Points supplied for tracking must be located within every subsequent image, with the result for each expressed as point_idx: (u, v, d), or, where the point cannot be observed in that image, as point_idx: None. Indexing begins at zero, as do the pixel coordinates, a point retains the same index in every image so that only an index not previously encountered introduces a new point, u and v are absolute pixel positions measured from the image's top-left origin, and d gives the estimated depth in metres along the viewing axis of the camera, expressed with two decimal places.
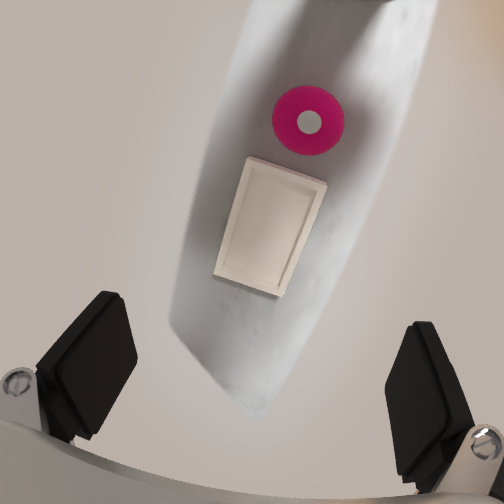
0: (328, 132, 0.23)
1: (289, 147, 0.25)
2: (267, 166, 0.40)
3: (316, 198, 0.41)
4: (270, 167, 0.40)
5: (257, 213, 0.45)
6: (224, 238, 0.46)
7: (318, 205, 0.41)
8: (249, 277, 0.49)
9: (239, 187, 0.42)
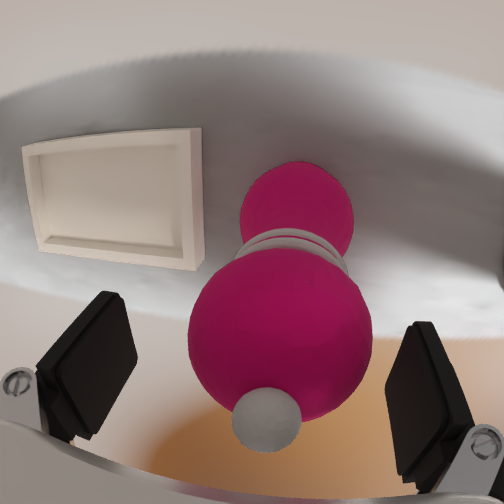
0: None
1: (190, 334, 0.09)
2: (189, 169, 0.22)
3: (172, 259, 0.26)
4: (189, 175, 0.22)
5: (117, 173, 0.25)
6: (64, 142, 0.23)
7: (163, 265, 0.26)
8: (40, 197, 0.26)
9: (140, 135, 0.22)
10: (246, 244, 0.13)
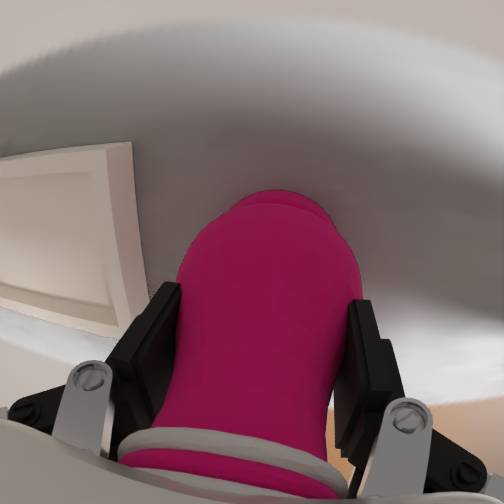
0: None
1: None
2: (109, 209, 0.14)
3: (105, 326, 0.17)
4: (110, 217, 0.14)
5: (34, 209, 0.17)
6: None
7: (97, 331, 0.18)
8: None
9: (46, 159, 0.13)
10: (129, 441, 0.05)
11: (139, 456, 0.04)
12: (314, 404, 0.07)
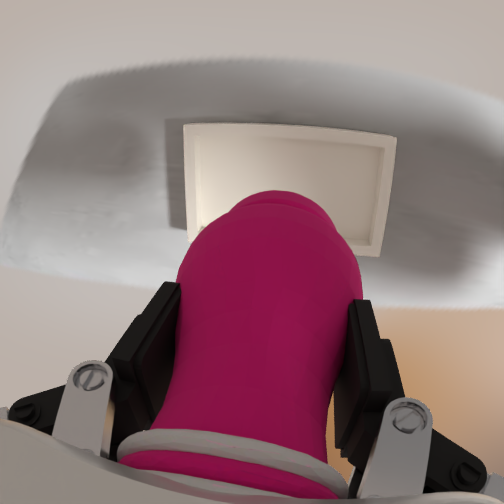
0: None
1: None
2: (392, 170, 0.25)
3: (360, 247, 0.28)
4: (391, 175, 0.25)
5: (309, 165, 0.27)
6: (255, 127, 0.25)
7: None
8: (198, 182, 0.29)
9: (350, 134, 0.24)
10: (129, 442, 0.05)
11: (138, 458, 0.04)
12: (314, 405, 0.06)
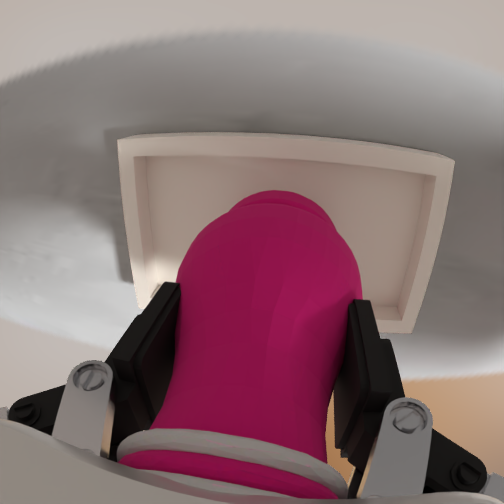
0: None
1: None
2: (444, 212, 0.15)
3: (386, 322, 0.18)
4: (442, 219, 0.15)
5: (314, 201, 0.17)
6: (226, 140, 0.15)
7: None
8: (146, 225, 0.19)
9: (385, 152, 0.14)
10: (128, 442, 0.05)
11: (138, 457, 0.04)
12: (314, 405, 0.06)
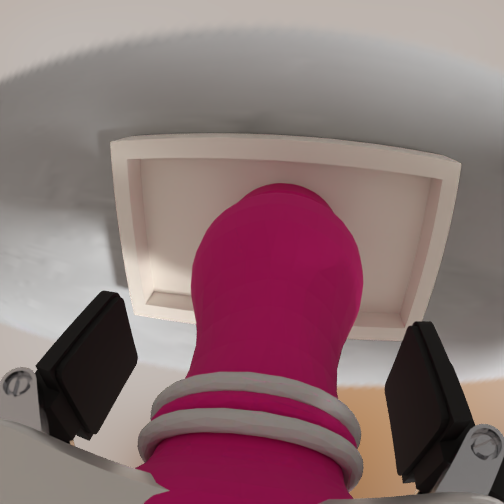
0: None
1: None
2: (449, 217, 0.14)
3: (389, 330, 0.18)
4: (448, 224, 0.14)
5: None
6: (223, 142, 0.14)
7: (374, 337, 0.18)
8: (141, 230, 0.18)
9: (389, 155, 0.14)
10: (168, 392, 0.06)
11: (179, 403, 0.06)
12: (326, 361, 0.08)
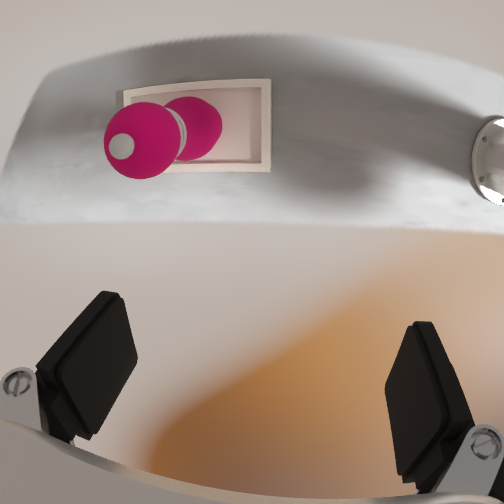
0: (127, 167, 0.21)
1: None
2: (269, 102, 0.33)
3: (252, 165, 0.36)
4: (269, 106, 0.33)
5: None
6: (169, 85, 0.33)
7: (245, 169, 0.37)
8: None
9: (234, 81, 0.32)
10: None
11: None
12: (182, 120, 0.27)
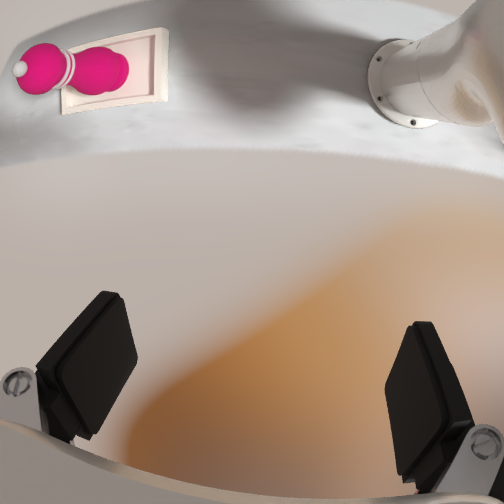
0: (24, 84, 0.23)
1: None
2: (160, 45, 0.35)
3: (147, 96, 0.39)
4: (160, 48, 0.35)
5: None
6: (92, 43, 0.35)
7: (142, 101, 0.39)
8: None
9: (136, 32, 0.35)
10: None
11: None
12: (78, 58, 0.29)
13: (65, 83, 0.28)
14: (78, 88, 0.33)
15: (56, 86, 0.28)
